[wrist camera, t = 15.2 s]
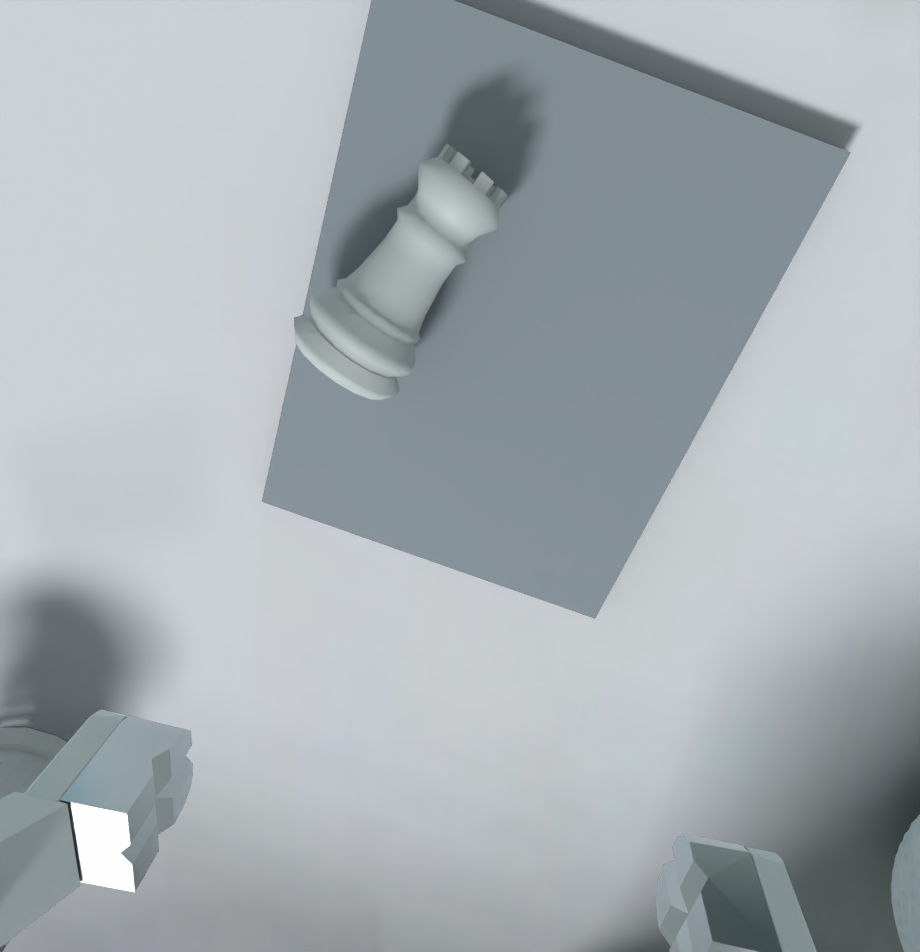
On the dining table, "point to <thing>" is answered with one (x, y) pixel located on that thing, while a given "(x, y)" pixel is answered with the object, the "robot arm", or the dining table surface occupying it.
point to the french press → (24, 759)
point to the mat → (541, 299)
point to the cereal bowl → (907, 889)
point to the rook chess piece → (399, 280)
